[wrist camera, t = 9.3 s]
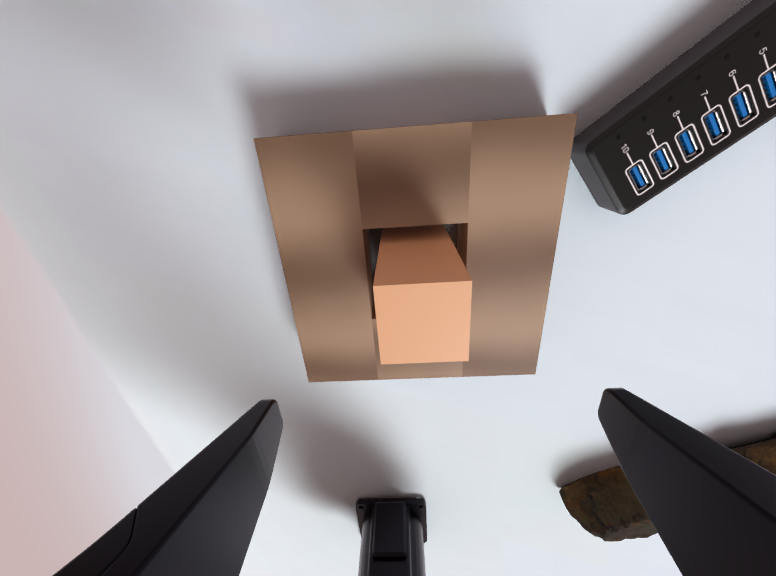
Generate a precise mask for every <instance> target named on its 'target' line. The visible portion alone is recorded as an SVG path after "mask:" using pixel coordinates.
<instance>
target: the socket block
mask: <svg viewBox="0 0 776 576" xmlns="http://www.w3.org/2000/svg"><path fill="white" fill-rule="evenodd" d="M577 115H578V113H572V114H560V115H547V116H534V117H521V118H509V119H496V120H483V121H470V122H457V123H445V124H432V125H419V126H406V127H393V128H381V129H368V130H355V131H342V132H330V133H317V134H304V135H291V136H278V137H266V138H254V142H255V146H256V151H257V155H258V160H259V164H260V168H261V173H262V177H263V182H264V186H265V190H266V195H267V199H268V204H269V208H270V213H271V217H272V221H273V226H274V230H275V235H276V239H277V243H278V248H279V252H280V257H281V261H282V266H283V270H284V274H285V279H286V283H287V288H288V292H289V296H290V301H291V305H292V310H293V314H294V319H295V323H296V327H297V332H298V336H299V341H300V345H301V349H302V354H303V358H304V363H305V367H306V371H307V376H308V380H309V382H327V381H355V380H383V379H411V378H440V377H468V376H496V375H524V374H535V372H536V366H537V360H538V354H539V348H540V342H541V335H542V329H543V323H544V317H545V311H546V305H547V299H548V293H549V286H550V280H551V274H552V268H553V262H554V256H555V250H556V243H557V237H558V231H559V225H560V219H561V213H562V207H563V201H564V194H565V188H566V182H567V176H568V170H569V164H570V158H571V151H572V145H573V139H574V133H575V127H576V121H577ZM440 224H457V252H458V254H459V256H460V258H461V260H462V262H463V264H464V265H465V267H466V269H467V271H468V273H469V275H470V277H471V279H472V298H471V320H470V342H469V361H456V362H431V363H406V364H381V361H380V351H379V341H378V332H377V322H376V312H375V302H374V292H373V282H374V279H373V268H372V258H371V248H370V237H369V229H375V228H391V227H408V226H424V225H440Z"/></svg>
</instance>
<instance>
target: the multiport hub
mask: <svg viewBox="0 0 776 576" xmlns="http://www.w3.org/2000/svg"><path fill="white" fill-rule="evenodd" d="M774 117H776V0H752V1H751V2H750V3H749V4H747V5H746V6H745V7H743V8H742V9H741V10H739V11H738V12H737V13H736V14H734V15H733V16H732V17H730V18H729V19H728V20H727V21H725V22H724V23H723V24H721V25H720V26H719V27H717V28H716V29H715V30H714V31H712V32H711V33H710V34H708V35H707V36H706V37H705V38H703V39H702V40H701V41H699V42H698V43H697V44H695V45H694V46H693V47H692V48H690V49H689V50H688V51H686V52H685V53H684V54H682V55H681V56H680V57H679V58H677V59H676V60H675V61H673V62H672V63H671V64H670V65H668V66H667V67H666V68H664V69H663V70H662V71H660V72H659V73H658V74H657V75H655V76H654V77H653V78H651V79H650V80H649V81H648V82H646V83H645V84H644V85H642V86H641V87H640V88H638V89H637V90H636V91H635V92H633V93H632V94H631V95H629V96H628V97H627V98H625V99H624V100H623V101H622V102H620V103H619V104H618V105H616V106H615V107H614V108H613V109H611V110H610V111H609V112H607V113H606V114H605V115H603V116H602V117H601V118H600V119H598V120H597V121H596V122H594V123H593V124H592V125H591V126H589V127H588V128H587V129H585V130H584V131H583V132H581V133H580V134H579V135H578V136H576V137H575V138H574V139H573V145H572V151H571V159H572V161H573V163H574V165H575V166H576V168H577V170H578V172H579V173H580V175H581V177H582V179H583V180H584V182H585V184H586V185H587V187H588V189H589V191H590V192H591V194H592V196H593V198H594V199H595V201H596V203H597V204H598V206H600V207H603V208H605V209H608V210H611V211H614V212H616V213H619V214H622V215H624V214H628V213H630V212H632V211H633V210H635V209H636V208H638V207H639V206H641V205H642V204H644V203H645V202H647V201H648V200H650V199H652V198H653V197H655V196H656V195H658V194H659V193H661V192H662V191H664V190H665V189H667V188H668V187H670V186H671V185H673V184H674V183H676V182H677V181H679V180H680V179H682V178H683V177H685V176H686V175H688V174H689V173H691V172H692V171H694V170H695V169H697V168H698V167H700V166H701V165H703V164H704V163H706V162H708V161H709V160H711V159H712V158H714V157H715V156H717V155H718V154H720V153H721V152H723V151H724V150H726V149H727V148H729V147H730V146H732V145H733V144H735V143H736V142H738V141H739V140H741V139H742V138H744V137H745V136H747V135H748V134H750V133H751V132H753V131H754V130H756V129H757V128H759V127H760V126H762V125H764V124H765V123H767V122H768V121H770V120H771V119H773V118H774Z"/></svg>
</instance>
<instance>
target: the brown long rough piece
mask: <svg viewBox="0 0 776 576" xmlns="http://www.w3.org/2000/svg"><path fill="white" fill-rule="evenodd" d="M731 450H732V451H734V452H736V453H738V454H739V455H741V456H743V457H745V458H746V459H748V460H750V461H752V462H754V463H755V464H757V465H759V466H761V467H762V468H764V469H766V470H768V471H769V472H771V473H773V474H775V475H776V438H774V439H771V440H767V441H762V442H759V443H754V444H750V445H746V446H742V447H738V448H734V449H731ZM559 492H560V495H561V498H562V500H563V502H564V504H565V506H566V509H567V510H568V511H569V513H570V514H571V516H572V517H573V518H575V519H576V520H577V521H578V522H579V523H580V524H581V526H582V527H583V528H584V529H585V530H587V531H588V532H589V533H591V534H593V535H594V536H597V537H600V538H602V539H603V540H604V541H622V540H623V539H635V538H648V537H650V536H651V535H654V534H656V533H658V532H657V530H656V529H655V527H654V525H653V523H652V522H651V520H650V518H649V516H648V515H647V513H646V511H645V510H644V508H643V506H642V504H641V503H640V501H639V499H638V497H637V496H636V494H635V492H634V491H633V489H632V487H631V485H630V483H629V482H628V480H627V478H626V476H625V474H624V472H623V470H622V468H621V466H618V467H614V468H610V469H607V470H603V471H600V472H597V473H595V474H592V475H589V476H587V477H584V478H581V479H579V480H577V481H575V482H573V483H571V484H569V485H567V486H565V487H563V488H561V490H560V491H559Z"/></svg>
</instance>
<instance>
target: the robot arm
mask: <svg viewBox="0 0 776 576" xmlns="http://www.w3.org/2000/svg"><path fill="white" fill-rule="evenodd" d="M598 417H599V420H600V422H601V424H602V427H603V429H604V431H605V433H606V435H607V438H608V440H609V442H610V444H611V446H612V448H613V451H614V453H615V455H616V457H617V459H618V461H619V464H620V466H621V468H622V470H623V472H624V474H625V476H626V478H627V480H628V482H629V483H630V485H631V487H632V489H633V491H634V492H635V494H636V496H637V497H638V499H639V501H640V503H641V504H642V506H643V508H644V510H645V511H646V513H647V515H648V516H649V518H650V520H651V522H652V523H653V525H654V527H655V529H656V530H657V532H658V534H659V535H660V537H661V539H662V541H663V542H664V544H665V546H666V548H667V549H668V551H669V553H670V554H671V556H672V558H673V560H674V561H675V563H676V565H677V567H678V568H679V570H680V572H681V573H682V575H683V576H776V475H775V474H773V473H771V472H769V471H768V470H766V469H764V468H762V467H761V466H759V465H757V464H755V463H754V462H752V461H750V460H748V459H746V458H745V457H743V456H741V455H739V454H738V453H736V452H734V451H732V450H731V449H729V448H727V447H725V446H724V445H722V444H720V443H718V442H717V441H715V440H713V439H711V438H710V437H708V436H706V435H704V434H703V433H701V432H699V431H697V430H696V429H694V428H692V427H690V426H689V425H687V424H685V423H683V422H682V421H680V420H678V419H676V418H675V417H673V416H671V415H669V414H668V413H666V412H664V411H662V410H661V409H659V408H657V407H655V406H654V405H652V404H650V403H648V402H647V401H645V400H643V399H641V398H640V397H638V396H636V395H634V394H632V393H631V392H629V391H627V390H625V389H623V388H607V389H605V390H604V392H603V395H602V398H601V402H600V405H599V409H598ZM282 427H283V420H282V417H281V413H280V410H279V406H278V403H277V401H276V400H274V399H268V400H261V401H259V402H258V403H257V404H255V405H254V406H253V407H252V408H251V409H250V410H248V411H247V412H246V413H245V414H244V415H243V416H241V417H240V418H239V419H238V420H237V421H236V422H235V423H233V424H232V425H231V426H230V427H229V428H228V429H226V430H225V431H224V432H223V433H222V434H221V435H219V436H218V437H217V438H216V439H215V440H214V441H212V442H211V443H210V444H209V445H208V446H207V447H205V448H204V449H203V450H202V451H201V452H200V453H199V454H197V455H196V456H195V457H194V458H193V459H192V460H190V461H189V462H188V463H187V464H186V465H185V466H183V467H182V468H181V469H180V470H179V471H178V472H176V473H175V474H174V475H173V476H172V477H171V478H169V479H168V480H167V481H166V482H165V483H164V484H162V485H161V486H160V487H159V488H158V489H157V490H156V491H154V492H153V493H152V494H151V495H150V496H149V497H147V498H146V499H145V500H144V501H143V502H142V503H140V504H139V505H138V507H137V508H135V509H134V510H132V511H131V512H130V513H129V514H128V515H126V516H125V517H124V518H123V519H122V520H121V521H119V522H118V523H117V524H116V525H115V526H114V527H112V528H111V529H110V530H109V531H107V532H106V533H105V534H104V535H103V536H102V537H100V538H99V539H98V540H97V541H96V542H95V543H93V544H92V545H91V546H89V547H88V548H87V549H86V550H84V551H83V552H82V553H81V554H79V555H78V556H77V557H76V558H74V559H73V560H72V561H71V562H69V563H68V564H67V565H66V566H64V567H63V568H62V569H60V570H59V571H58V572H57V573H55V574H54V575H53V576H239V574H240V571H241V568H242V565H243V562H244V559H245V556H246V553H247V550H248V547H249V544H250V541H251V538H252V535H253V532H254V529H255V526H256V523H257V520H258V517H259V514H260V511H261V508H262V505H263V502H264V499H265V496H266V493H267V490H268V487H269V484H270V480H271V476H272V472H273V467H274V463H275V459H276V454H277V450H278V445H279V441H280V437H281V432H282ZM356 511H357V517H358V522H359V527H360V533H361V538H362V539H361V550H360V561H359V573H358V576H426V575H425V559H424V543H425V542H426V541H427V524H426V502H425V500H423V499H372V500H358V501H357V502H356Z"/></svg>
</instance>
